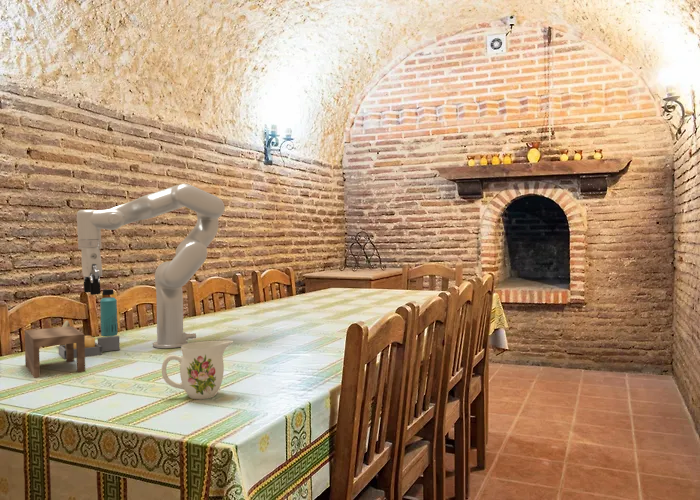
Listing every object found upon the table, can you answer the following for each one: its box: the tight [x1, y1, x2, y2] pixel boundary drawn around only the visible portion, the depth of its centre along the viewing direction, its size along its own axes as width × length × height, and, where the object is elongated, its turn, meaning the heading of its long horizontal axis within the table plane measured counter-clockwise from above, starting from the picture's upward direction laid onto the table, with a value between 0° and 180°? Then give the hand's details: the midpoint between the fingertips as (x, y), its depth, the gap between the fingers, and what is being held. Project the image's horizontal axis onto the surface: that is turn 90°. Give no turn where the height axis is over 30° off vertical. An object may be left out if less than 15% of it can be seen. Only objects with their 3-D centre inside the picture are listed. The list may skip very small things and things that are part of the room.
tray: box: [58, 335, 121, 360], centre depth 213 cm, size 19×11×6 cm, turn 125°
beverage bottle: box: [99, 288, 119, 337], centre depth 242 cm, size 6×7×20 cm
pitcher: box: [161, 340, 234, 400], centre depth 155 cm, size 11×18×14 cm, turn 105°
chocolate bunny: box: [59, 320, 71, 346], centre depth 226 cm, size 6×8×10 cm
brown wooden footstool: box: [24, 325, 86, 379], centre depth 189 cm, size 14×20×11 cm
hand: (92, 293), depth 212 cm, fingers open, 9 cm apart
